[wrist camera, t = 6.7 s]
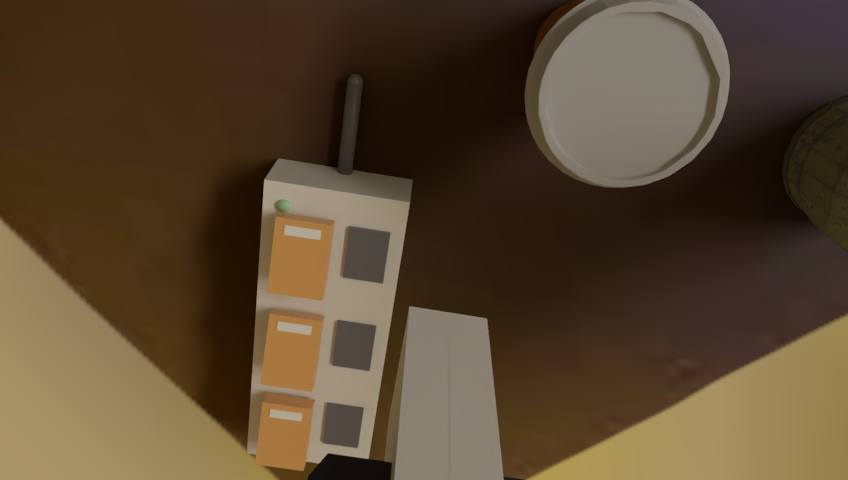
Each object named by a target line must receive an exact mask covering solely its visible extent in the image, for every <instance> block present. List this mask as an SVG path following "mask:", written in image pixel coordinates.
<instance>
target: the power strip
mask: <svg viewBox="0 0 848 480" xmlns="http://www.w3.org/2000/svg"><path fill="white" fill-rule="evenodd" d="M362 89H363V79H362V77H361V76H360V75H359V74H351V75H350V76H349V77H348V79H347V86H346V95H345V104H344V113H343V122H342V131H341V140H340V149H339V158H338V167H337V168H336V167H330V166H324V165H317V164H311V163H305V162H298V161H292V160H286V159H279V158H278V160H277V161H276V163H275V164H274V166H273V167H272V169H271V170H270V172H269V173H268V175H267V176H266V178H265V179H264V191H263V207H262V223H261V238H260V254H259V270H258V286H257V302H256V318H255V334H254V350H253V366H252V382H251V398H250V414H249V430H248V446H247V453H249V454H256V452H257V444H258V435H259V427H260V418H261V409H262V402H263V400H264V398H265V395H266V393H271V394H278V395H285V396H292V397H299V398H306V399H313V400H315V402H314V410H313V417H312V425H311V432H310V439H309V447H308V454H307V461H306V462H313V463H320V462H321V461H322V460H323V458H324V457H325V456H326V455H327V454H328V453H330V454H337V455H344V456H351V457H358V458H365V459H369V452H370V446H371V440H372V434H373V428H374V422H375V415H376V409H377V403H378V397H379V391H380V385H381V378H382V372H383V366H384V360H385V354H386V348H387V342H388V335H389V329H390V323H391V317H392V311H393V305H394V298H395V292H396V286H397V280H398V274H399V268H400V261H401V255H402V249H403V243H404V237H405V231H406V224H407V218H408V212H409V206H410V199H411V190H412V182H413V180H412V179H405V178H399V177H393V176H387V175H380V174H374V173H368V172H361V171H355V170H353V163H354V155H355V146H356V138H357V130H358V122H359V113H360V105H361V97H362ZM280 212H283V213H289V214H296V215H302V216H308V217H315V218H321V219H328V220H334V221H335V225H334V233H333V240H332V247H331V255H330V262H329V270H328V277H327V285H326V292H325V296H324V298H323V300H322V301H320V300H313V299H307V298H300V297H293V296H287V295H280V294H273V293H267V289H268V281H269V272H270V263H271V254H272V245H273V236H274V228H275V219H276V216H277V215H278V214H279V213H280ZM274 308H275V309H281V310H288V311H295V312H301V313H308V314H315V315H321V316H325V317H324V324H323V331H322V338H321V345H320V352H319V359H318V366H317V373H316V380H315V385H314V388H313V391H312V392H309V391H302V390H295V389H288V388H281V387H274V386H267V385H260V382H261V374H262V367H263V359H264V352H265V344H266V336H267V329H268V321H269V314H270V312H271V311H272V310H273V309H274Z"/></svg>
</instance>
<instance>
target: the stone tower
mask: <svg viewBox="0 0 848 480" xmlns="http://www.w3.org/2000/svg"><path fill="white" fill-rule="evenodd" d="M782 178H783V182H784V186H785V190H786V193H787V194H788V196H789V197H790V198H791V200H792V201H793V203H794V204H795V205H796V207H798V208H799V209H800V210H801V211H803V212H805V214H806V215H807V217H808V218H809V219H810V221H811V222H812V223H813V225H815V226H816V227H817V228H818V229H819V230H820V231H822V232H823V233H824V234H825V235H826V236H827V237H829V238H830V239H831V240H832V241H833V242H834V243H836V244H837V245H838V246H840V247H841V248H843V249H844V250H846V251H847V252H848V96H846V97H843V98H841V99H838V100H835V101H833V102H830V103H828V104H827V105H825V106H824V107H822V108H821V109H819V110H818V111H817V112H815V113H814V114H812V115H811V116H810V117H808V118H807V120H806V121H805V122H804V123H803V124H802V125H801V127H800V128H799V129H798V130H797V131H796V133H795V134H794V135H793V137H792V139H791V141H790V143H789V146H788V148H787V150H786V152H785V154H784V160H783V168H782Z"/></svg>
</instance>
